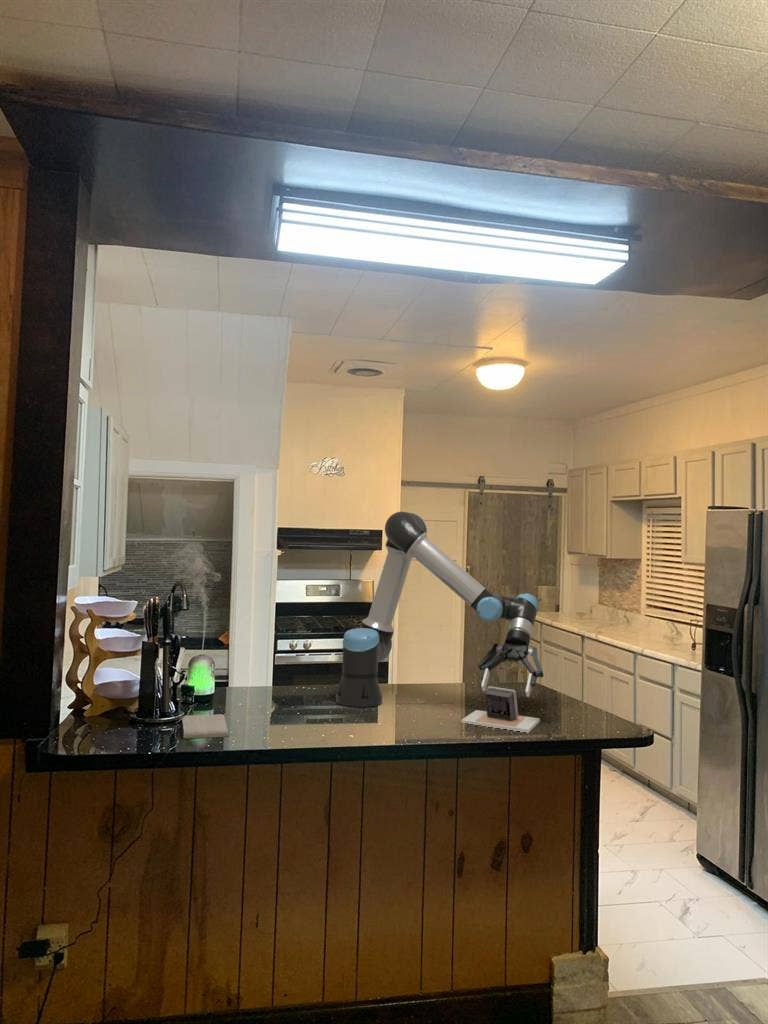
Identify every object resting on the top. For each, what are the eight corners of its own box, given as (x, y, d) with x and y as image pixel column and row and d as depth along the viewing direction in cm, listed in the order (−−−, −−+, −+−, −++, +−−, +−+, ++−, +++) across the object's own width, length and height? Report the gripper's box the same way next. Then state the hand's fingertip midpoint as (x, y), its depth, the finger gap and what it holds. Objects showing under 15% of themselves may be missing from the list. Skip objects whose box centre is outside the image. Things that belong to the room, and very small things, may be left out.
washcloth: (224, 722, 206) (224, 711, 206) (229, 739, 189) (230, 727, 189) (181, 724, 203) (181, 713, 203) (182, 741, 186) (183, 729, 186)
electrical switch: (518, 719, 214) (518, 688, 214) (511, 724, 210) (511, 693, 209) (490, 714, 219) (489, 684, 219) (482, 719, 215) (482, 688, 215)
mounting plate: (461, 723, 212) (461, 719, 212) (476, 713, 225) (476, 709, 225) (528, 733, 203) (528, 728, 203) (539, 721, 217) (539, 717, 217)
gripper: (559, 646, 227) (548, 703, 213) (483, 639, 237) (467, 693, 223) (556, 631, 222) (544, 689, 208) (479, 624, 233) (462, 679, 218)
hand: (504, 691), depth 215 cm, fingers open, 13 cm apart
